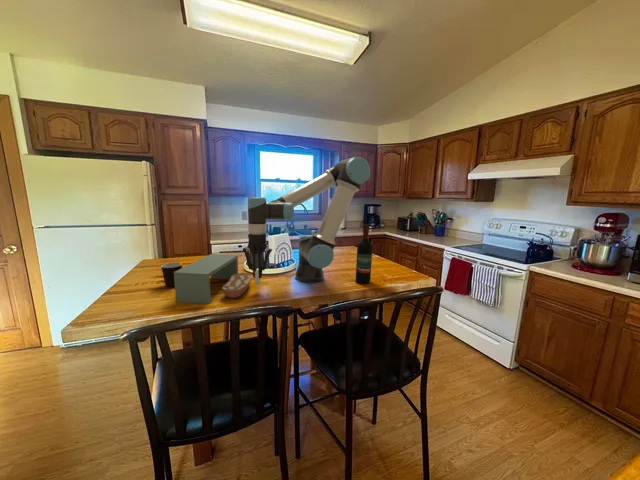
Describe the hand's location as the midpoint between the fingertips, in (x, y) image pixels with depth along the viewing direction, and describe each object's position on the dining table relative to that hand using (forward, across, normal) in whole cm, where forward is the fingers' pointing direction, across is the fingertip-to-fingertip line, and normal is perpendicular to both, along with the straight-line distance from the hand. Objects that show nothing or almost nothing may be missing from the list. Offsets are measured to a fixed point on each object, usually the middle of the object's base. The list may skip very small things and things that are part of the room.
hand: (257, 284), depth 122 cm
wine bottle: (+3, -49, -21) cm, 53 cm away
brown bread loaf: (+4, +9, 0) cm, 10 cm away
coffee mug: (+4, +41, -3) cm, 42 cm away
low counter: (+4, +22, 0) cm, 23 cm away
